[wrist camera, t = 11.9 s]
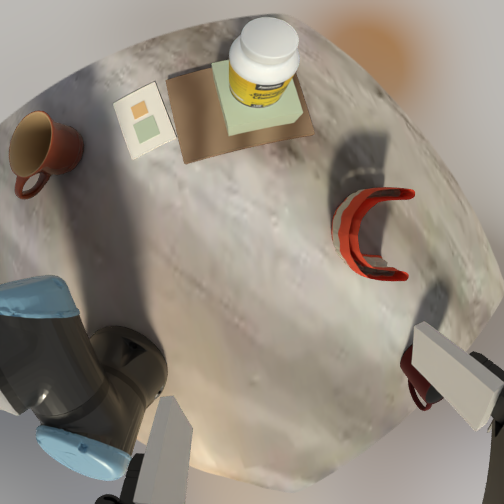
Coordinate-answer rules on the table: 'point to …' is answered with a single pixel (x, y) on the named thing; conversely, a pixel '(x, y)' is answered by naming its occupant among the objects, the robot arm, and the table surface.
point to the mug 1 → (42, 151)
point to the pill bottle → (263, 62)
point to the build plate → (219, 119)
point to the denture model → (348, 228)
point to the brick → (253, 118)
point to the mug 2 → (418, 382)
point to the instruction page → (144, 120)
